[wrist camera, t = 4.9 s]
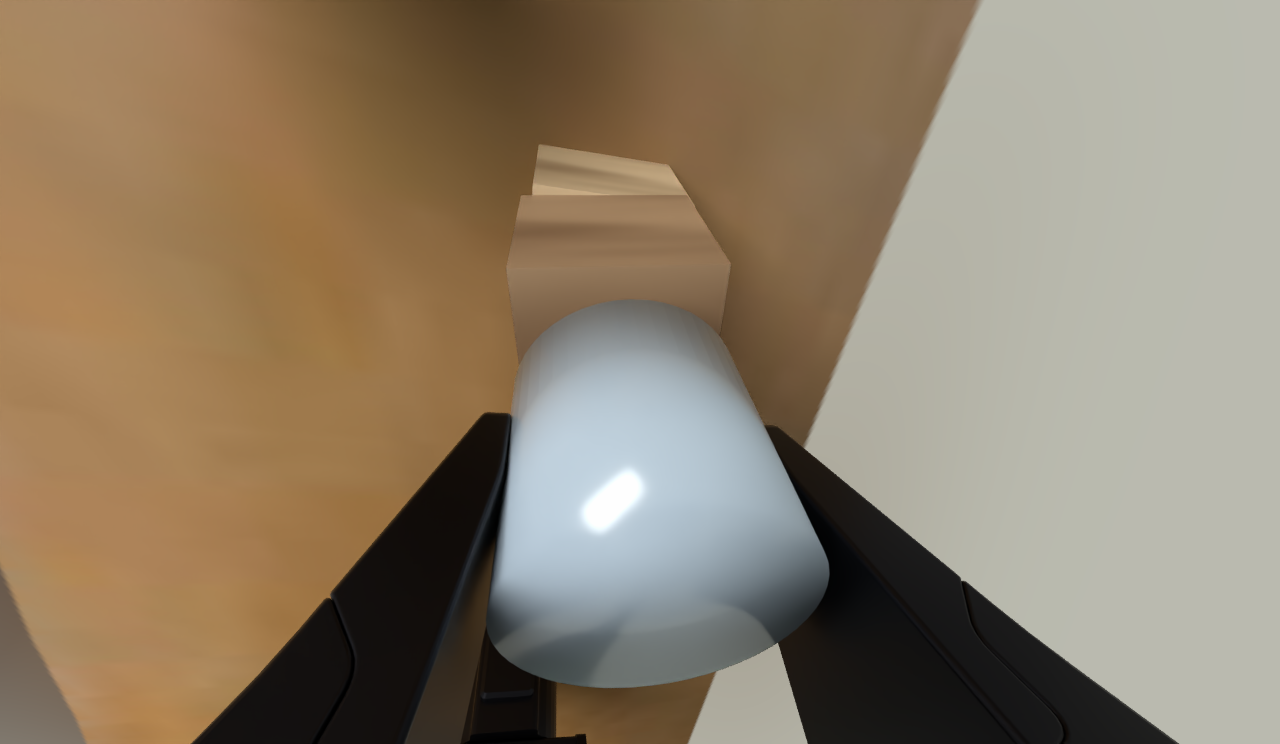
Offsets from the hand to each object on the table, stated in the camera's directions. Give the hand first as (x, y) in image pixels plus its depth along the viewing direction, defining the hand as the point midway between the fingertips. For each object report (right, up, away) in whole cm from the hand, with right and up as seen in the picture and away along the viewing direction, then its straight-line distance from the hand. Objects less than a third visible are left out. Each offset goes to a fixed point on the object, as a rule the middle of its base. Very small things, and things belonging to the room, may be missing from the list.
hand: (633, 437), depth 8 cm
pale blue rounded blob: (0, +1, +1) cm, 1 cm away
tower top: (-1, +4, +5) cm, 6 cm away
